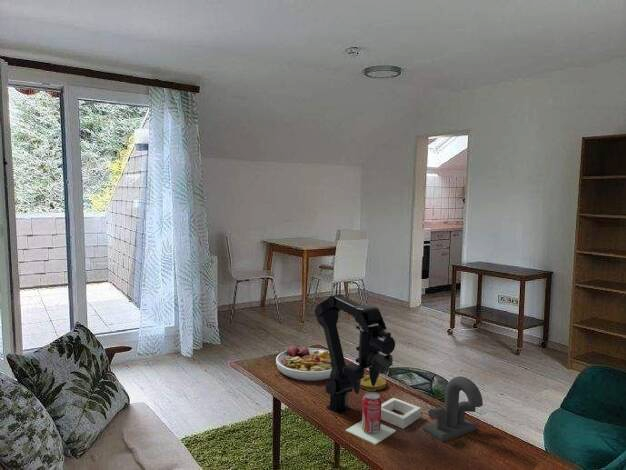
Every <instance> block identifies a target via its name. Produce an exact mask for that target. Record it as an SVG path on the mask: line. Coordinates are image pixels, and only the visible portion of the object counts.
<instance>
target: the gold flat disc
mask: <svg viewBox="0 0 626 470" xmlns="http://www.w3.org/2000/svg"><path fill="white" fill-rule="evenodd" d="M363 376H364V378H363V379H361V383H360V388H362V389H364V390H366V391H368V392H376V391H379V390H383V389H385V388H386V387H387V386H386V385H387V380H386V379H385V378H384V377H381V376H380V375H379V376H378V379H377V381H376V384H375V386H372V384H371V379H370V374H364V375H363Z"/></svg>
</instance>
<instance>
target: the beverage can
mask: <svg viewBox="0 0 626 470" xmlns="http://www.w3.org/2000/svg"><path fill="white" fill-rule="evenodd" d="M361 403H362V407H361V409H362V410H361V411H362V412H361V421H362V429H363V430H364V431H366V432H367V433H376V432H378V431H380V425H381V424H382V423H381V421H382V420H381V404H383V403H382V398H381V395H380V394H379V393H377V392H375V391H368V392H365V394H364V396H363V397H362V402H361Z"/></svg>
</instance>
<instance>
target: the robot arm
mask: <svg viewBox="0 0 626 470" xmlns="http://www.w3.org/2000/svg"><path fill="white" fill-rule="evenodd" d="M339 312H344V313H346V314H348V315H350V316H351V317H353V318H354V321H355V322H356V323H357V326H355V329H357V330H359V337H358V339H359V340H358V346H356V347H355V348H356V349H355V350H356V351H357V352H358V357H357V358H355V363H358V364H355V363H353V362H351V363H349V364H346V360H345V357H344V353H343V348H342V347H343V346H342V343H341V339H340V335H339V330H338V321H339V317H340V316H339ZM314 315H315V317H316V321H317V323H318V324H319V325H320V326H321V327H322V328H323V332H324V336H325V342H326V346H327V350H328V351H329V355H330V359H331V364H332V370H331V373H330V378H329V382H328V383H327V384H326V385H325V391H326V393H327V394H328V395H329V405H327V406H326V409H328V410H330V411H332V412H335V413H337V414H342V413H344V412H347V411H348V410H350V409H351V405H349V403H348V400H349V399H348V398H349V394H348V393H353V391H354V393H355V394H356V395H359V394H360V390H361V389H360V388H361V387H360V383H361V379H363V378H364V376H363V375H365V370H368V371H369V372H368V373H369V375H370V379H371V384H372V386H375V384H376V381H377V379H378V376H379V377H380V374H381V375H382V374H385V373H386V372H389V369H390V367H391V366H393V365H394V364H393V362H394V361H393V355H392V353H393V352H394V351H395V348H396V341H395V339H394V337H392V336H391V335H392V333H391V332H389V331H386V330H387V326H386V323H385V321H384V318H383V316H382V314H381V311H380V309H379V308H378V307H377V306H372V305H363V304H360V303H358V302H355V301H354V300H352V299H350V298H348V297H347V296H344V295H343V294H331V296H329V297H328V298H326V299H325V300H323V301H322V302H320V303H318V304H317V305H316V307H315V308H314Z"/></svg>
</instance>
